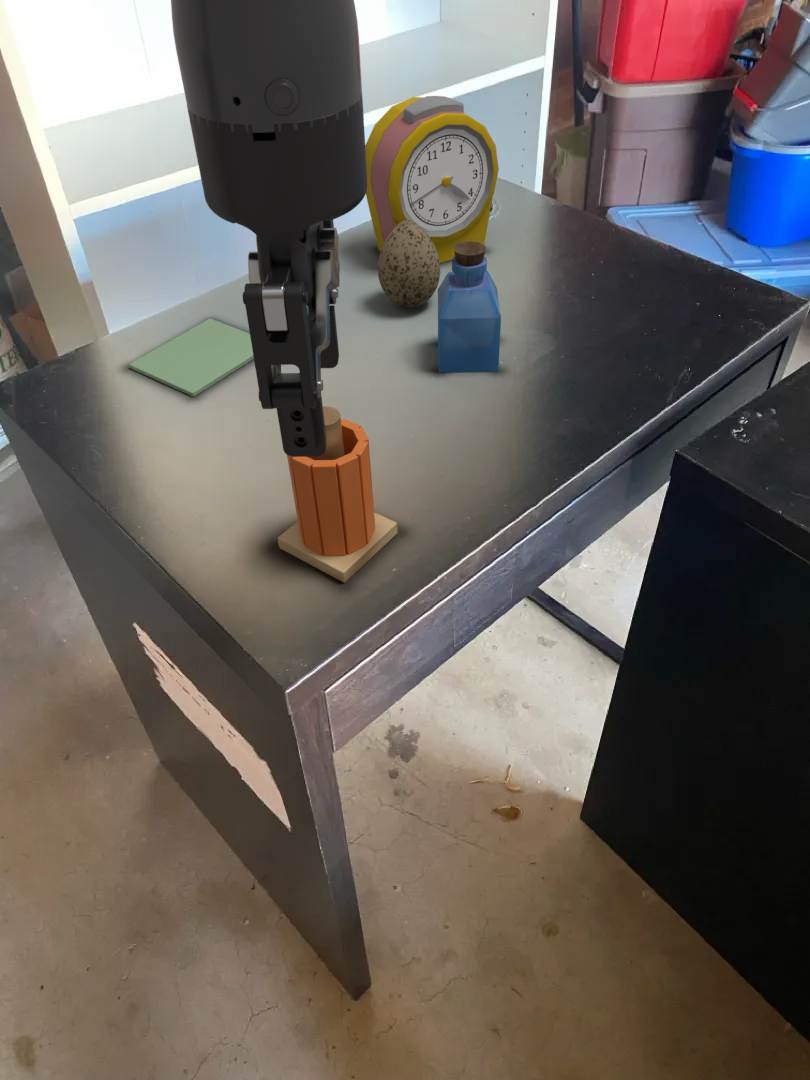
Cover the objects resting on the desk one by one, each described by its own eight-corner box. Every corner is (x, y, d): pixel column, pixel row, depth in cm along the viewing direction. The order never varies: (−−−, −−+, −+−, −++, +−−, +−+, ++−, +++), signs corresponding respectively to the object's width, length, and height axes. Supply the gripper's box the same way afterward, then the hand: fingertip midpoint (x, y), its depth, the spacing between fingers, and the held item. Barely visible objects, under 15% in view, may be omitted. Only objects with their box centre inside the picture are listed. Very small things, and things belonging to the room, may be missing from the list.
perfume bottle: (498, 371, 86) (504, 261, 78) (438, 372, 86) (438, 263, 78) (494, 340, 91) (499, 233, 82) (438, 342, 91) (437, 235, 83)
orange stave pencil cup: (343, 567, 64) (332, 477, 58) (284, 536, 67) (268, 447, 61) (389, 524, 68) (384, 435, 62) (332, 496, 70) (321, 408, 64)
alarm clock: (395, 277, 102) (388, 118, 90) (366, 253, 108) (356, 99, 95) (497, 250, 107) (504, 95, 94) (465, 228, 112) (467, 78, 100)
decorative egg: (452, 300, 98) (453, 216, 91) (416, 325, 94) (414, 239, 87) (404, 284, 101) (401, 202, 94) (367, 308, 97) (361, 224, 90)
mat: (193, 397, 84) (192, 393, 84) (129, 368, 89) (128, 364, 89) (273, 346, 91) (273, 342, 91) (210, 321, 96) (209, 318, 95)
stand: (344, 583, 65) (329, 457, 56) (278, 548, 68) (255, 423, 59) (398, 533, 69) (391, 407, 60) (333, 502, 72) (318, 378, 63)
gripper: (217, 49, 41) (265, 342, 52) (146, 148, 30) (225, 488, 41) (369, 44, 40) (385, 340, 51) (350, 143, 30) (374, 486, 41)
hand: (314, 406), depth 46 cm, fingers open, 8 cm apart
